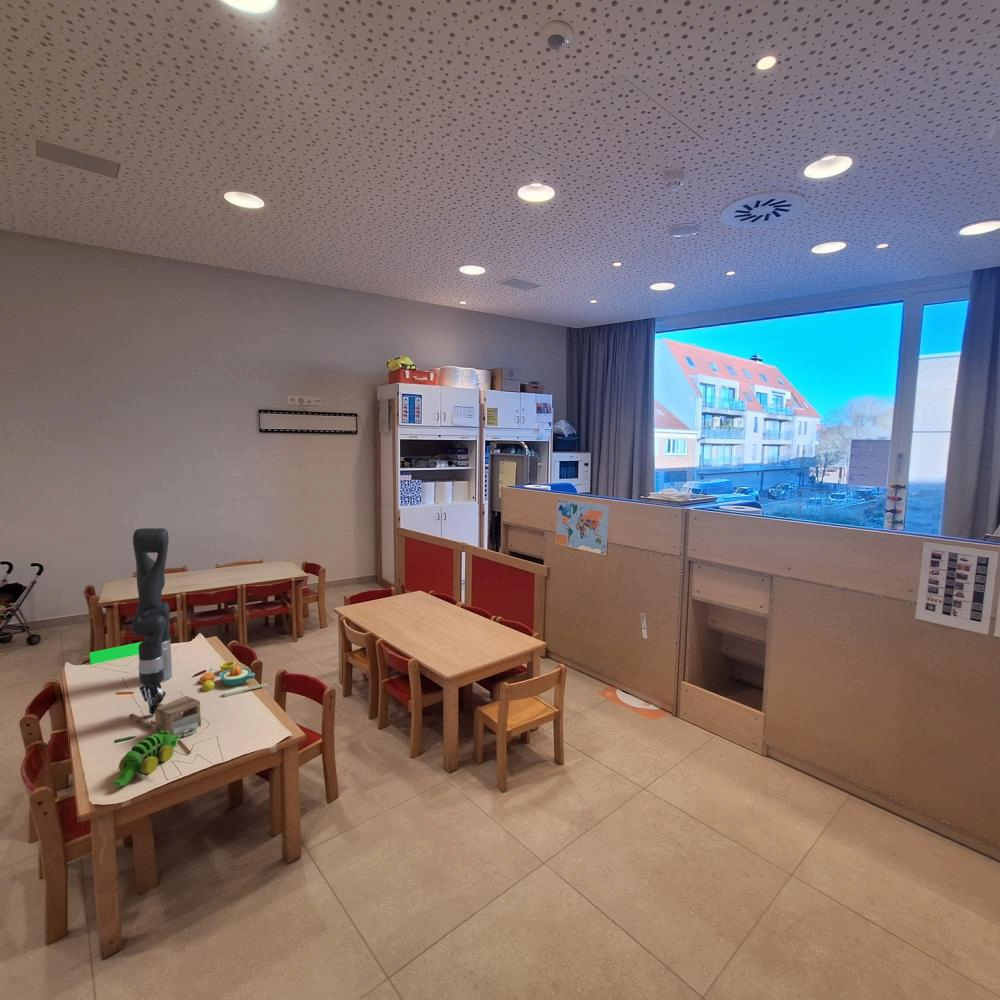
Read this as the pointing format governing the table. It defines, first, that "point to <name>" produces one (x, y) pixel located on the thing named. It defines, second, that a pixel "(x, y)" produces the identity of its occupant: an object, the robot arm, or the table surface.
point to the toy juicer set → (229, 678)
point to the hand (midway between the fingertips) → (153, 713)
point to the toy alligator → (148, 754)
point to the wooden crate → (167, 712)
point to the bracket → (114, 653)
